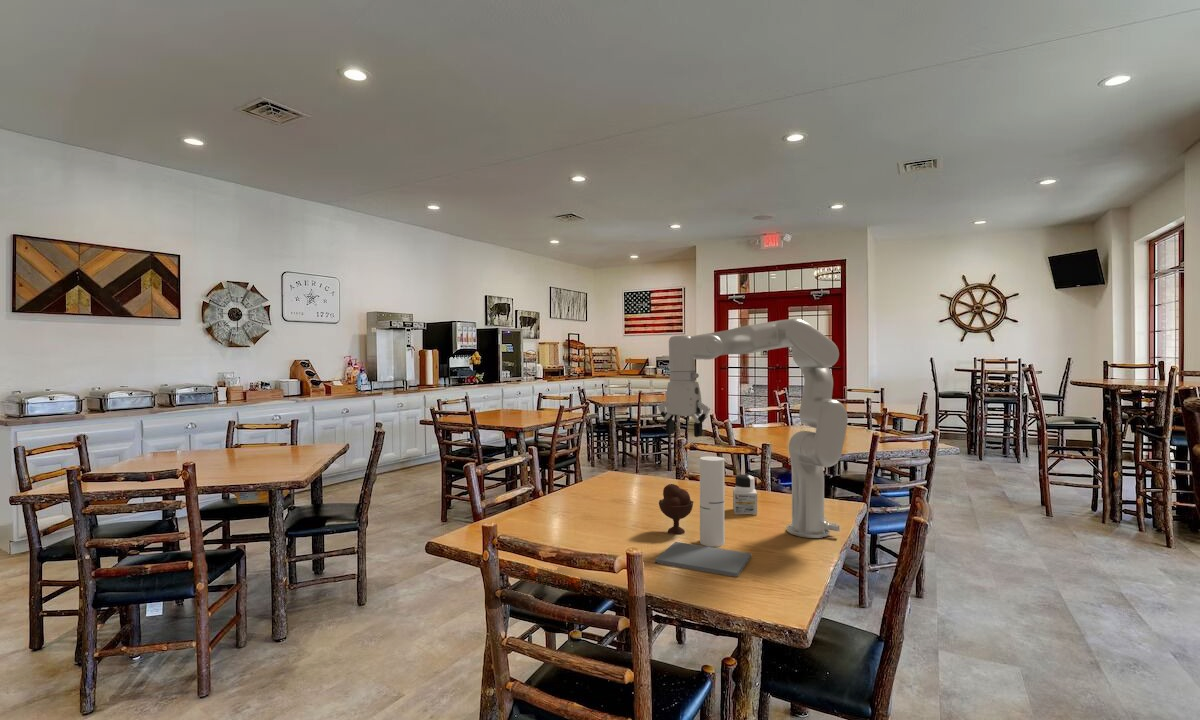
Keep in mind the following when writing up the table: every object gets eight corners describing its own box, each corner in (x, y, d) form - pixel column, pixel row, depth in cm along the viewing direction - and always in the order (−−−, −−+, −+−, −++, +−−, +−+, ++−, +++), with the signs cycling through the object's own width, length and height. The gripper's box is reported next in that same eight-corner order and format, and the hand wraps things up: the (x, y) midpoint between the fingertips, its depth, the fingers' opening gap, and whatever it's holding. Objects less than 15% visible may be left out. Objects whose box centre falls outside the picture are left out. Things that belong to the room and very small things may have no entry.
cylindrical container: (724, 547, 163) (724, 461, 163) (699, 545, 164) (699, 460, 164) (724, 539, 170) (724, 456, 170) (700, 538, 171) (700, 456, 171)
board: (751, 557, 155) (751, 553, 155) (737, 577, 141) (737, 573, 141) (675, 545, 165) (675, 541, 165) (655, 562, 151) (655, 559, 151)
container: (734, 514, 197) (734, 477, 197) (733, 508, 205) (733, 472, 205) (757, 515, 196) (757, 478, 196) (755, 509, 203) (755, 473, 203)
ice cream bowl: (670, 539, 170) (670, 489, 170) (652, 529, 180) (652, 482, 180) (700, 534, 174) (700, 486, 174) (681, 525, 185) (681, 479, 185)
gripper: (714, 376, 163) (716, 435, 164) (665, 376, 175) (667, 431, 175) (701, 378, 158) (702, 439, 158) (651, 377, 169) (652, 434, 169)
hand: (684, 435), depth 167 cm, fingers open, 9 cm apart
